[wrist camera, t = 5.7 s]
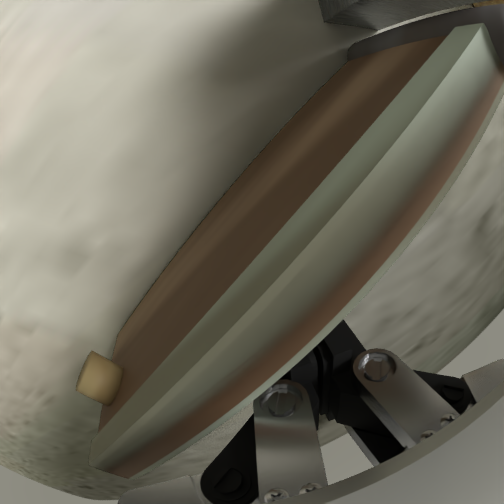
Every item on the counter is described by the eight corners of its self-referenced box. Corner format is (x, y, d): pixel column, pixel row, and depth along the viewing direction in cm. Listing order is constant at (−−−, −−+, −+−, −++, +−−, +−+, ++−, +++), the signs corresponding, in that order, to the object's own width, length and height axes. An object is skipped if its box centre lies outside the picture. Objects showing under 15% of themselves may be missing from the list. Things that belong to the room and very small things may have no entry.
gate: (391, 67, 9) (536, 58, 3) (146, 349, 13) (139, 493, 6) (351, 21, 8) (488, -30, 2) (96, 321, 11) (56, 465, 5)
